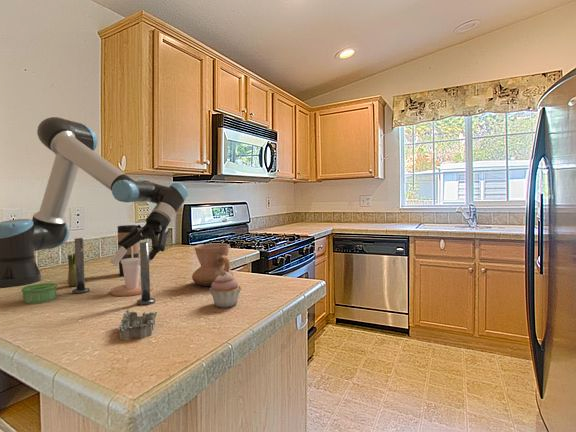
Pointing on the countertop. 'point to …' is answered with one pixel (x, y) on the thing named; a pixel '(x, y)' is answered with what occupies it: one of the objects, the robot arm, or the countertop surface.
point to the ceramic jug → (211, 263)
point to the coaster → (127, 290)
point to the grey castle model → (136, 325)
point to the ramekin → (39, 293)
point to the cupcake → (225, 290)
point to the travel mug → (122, 233)
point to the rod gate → (143, 263)
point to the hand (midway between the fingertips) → (127, 265)
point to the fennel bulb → (72, 270)
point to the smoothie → (131, 271)
